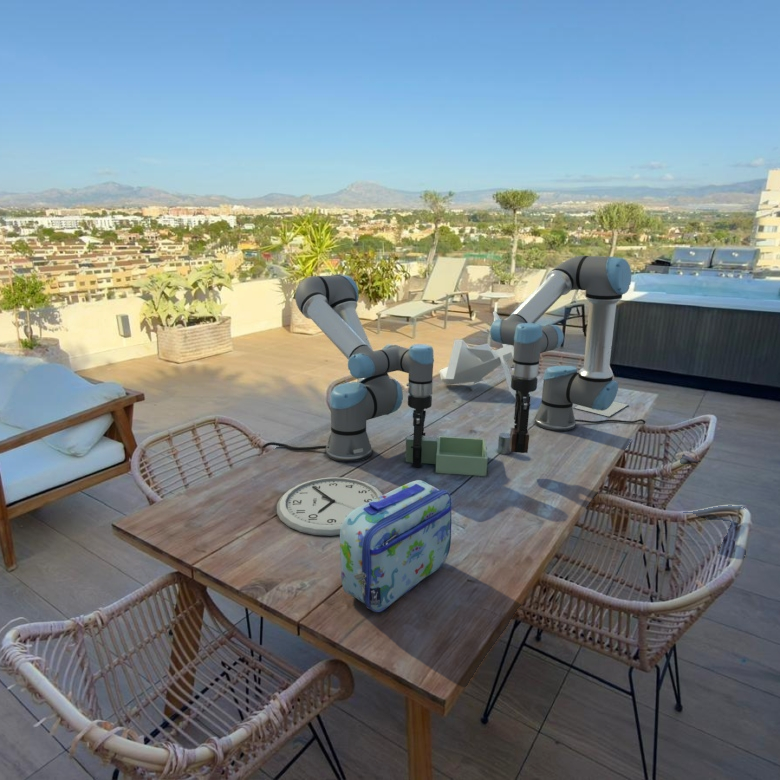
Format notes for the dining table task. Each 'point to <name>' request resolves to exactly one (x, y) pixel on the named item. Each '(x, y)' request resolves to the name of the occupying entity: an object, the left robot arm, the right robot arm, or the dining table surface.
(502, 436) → the grey metal peg
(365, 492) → the wall clock
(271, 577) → the dining table surface
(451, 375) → the white plastic object
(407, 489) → the lunch box
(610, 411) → the invitation card
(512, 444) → the walnut block
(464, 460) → the tray
